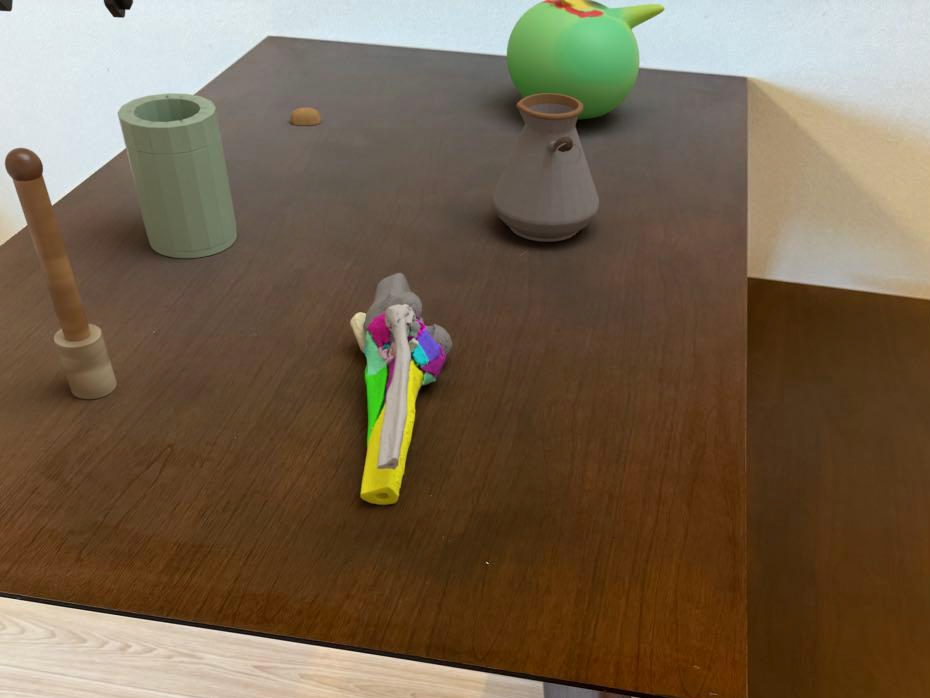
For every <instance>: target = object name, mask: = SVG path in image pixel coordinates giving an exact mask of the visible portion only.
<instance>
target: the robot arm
mask: <svg viewBox="0 0 930 698" xmlns="http://www.w3.org/2000/svg"><path fill="white" fill-rule="evenodd" d="M13 2H14V1H13V0H0V12H12V10H13ZM103 4H104V6H105V8H106V9H107V11H108V12H109V13H110V14H111V15H112V18H119V19H120V18H121V19H124V18H125V17H126V11H130V10H131V8H132V6H133V4H134V0H103Z"/></svg>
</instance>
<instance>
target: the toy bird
mask: <svg viewBox="0 0 930 698" xmlns="http://www.w3.org/2000/svg"><path fill="white" fill-rule="evenodd" d="M665 9H666V8H665V6H664V5H662V4H657V3H656V4H655V3H653V4H651V3H649V4H638V5H631V6H622V7H609V6H607V5H605V4H603V3H601V2H598V1H595V0H543V1H540V2H539V3H536V4H535V5H533V6H531V7H529V8H528V9H527V10H526V11H525V12H524V13H523V14H522V15H521V16H520V17H519V19H518V20H517V21H516V22H515V24H514V26H513V28H512V30H511V33H510V35H509V37H508V38H509V39H508V41H507V47H506V64H507V70H508V73H509V76H510V79H511V82H512V83H513V85H514V87H515V89H516V90H517V91H518V93H519V94H520V95H521V96H522V98H525V97H527V96H530V95H534V94H541V93H553V94H562V95H567V96H570V97H573V98H575V99H577V100H579V101H580V102H581V103H582V104H583V111H582V112H581V114H580V115H578V118H577V121H578V120H590V119H594V118H598V117H602V116H603V115H606V114H607V113H610V112H611V111H614V110H615V109H616V108H617V107H619V106H620V105H621V104H622V103H623V102H624V101H625V100H626V98H627V97H628V96H629V94H630V93H631V91H632V90H633V88H634V86H635V84H636V81H637V80H638V79H637V78H638V76H639V70H640V61H641V59H640V50H639V45H638V41H637V38H636V36H635V34H634V31H633V29H634V28H636V27H638V26H639V25H642V24H643V23H645V22H647V21H649V20H652V19H653V18H655V17H657V16H658V15H660V14H661V13H663V12H664V11H665Z"/></svg>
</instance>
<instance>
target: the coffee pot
mask: <svg viewBox="0 0 930 698" xmlns="http://www.w3.org/2000/svg"><path fill="white" fill-rule="evenodd" d="M515 107H516V109H518V111H519V114H520V116H521V117H522V119H523V121H524V126H523V128H522V130H521V132H520V134H519V136H518V139H517V141H516V143H515V144H514V145H515V146H514V148H513V149H512V152H511V154H510V156H509V158H508V160H507V163H506V165H505V167H504V169H503V172H502V173H501V176H500V178H499V180H498V182H497V185H496V186H495V188H494V191H493V195H492V204H493V207H494V209H495V212H496V214H497V217H498V218H499V219H500V220H501V221H502V222H503V223H504V224H505V225H506V226H507V227H509V228H510V230H511V231H512V232H513V233H514V234H516V235H517V236H519V237H521V238H523V239H526V240H530V241H535V242H544V243H545V242H548V243H549V242H550V243H551V242H558V241H565V240H568V239H570V238H573V237H574V236H576V235H577V234H578V233H579V232H580V231H581V230H583V229H584V228H586V226H588V225H589V224H590V223H592V221H593V219H594V217H595V216H596V214H597V213H598V211H599V208H600V199H599V195H598V191H597V189H596V186H595V183H594V179H593V176H592V174H591V170H590V168H589V165H588V162H587V158H586V155H585V152H584V148H583V146H582V143H581V140H580V136H579V134H578V131H577V128H576V124H577V121H578V120H577V118H578V115H580V114H581V112H582V111H583V104H582V103H581V102H580V101H579V100H577V99H575V98H573V97H570V96H567V95H562V94H553V93H541V94H534V95H530V96H527V97H525V98H524V97H522V98H521V99H520V100H518V102H517V103H516V105H515ZM576 233H577V234H576ZM573 235H574V236H573ZM572 236H573V237H572Z"/></svg>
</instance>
